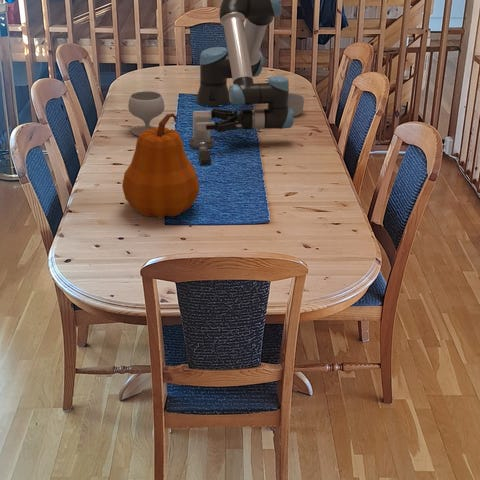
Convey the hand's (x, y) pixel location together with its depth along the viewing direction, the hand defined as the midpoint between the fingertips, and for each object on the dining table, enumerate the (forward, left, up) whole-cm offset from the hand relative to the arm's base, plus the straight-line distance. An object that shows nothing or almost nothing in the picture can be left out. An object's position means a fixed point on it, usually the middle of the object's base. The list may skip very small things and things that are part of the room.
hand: (195, 120), depth 281 cm
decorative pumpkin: (+36, -43, -10) cm, 57 cm away
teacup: (-5, +54, -10) cm, 55 cm away
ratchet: (+7, -2, -10) cm, 13 cm away
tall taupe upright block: (+1, +2, -8) cm, 8 cm away
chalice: (-24, -5, -10) cm, 26 cm away
